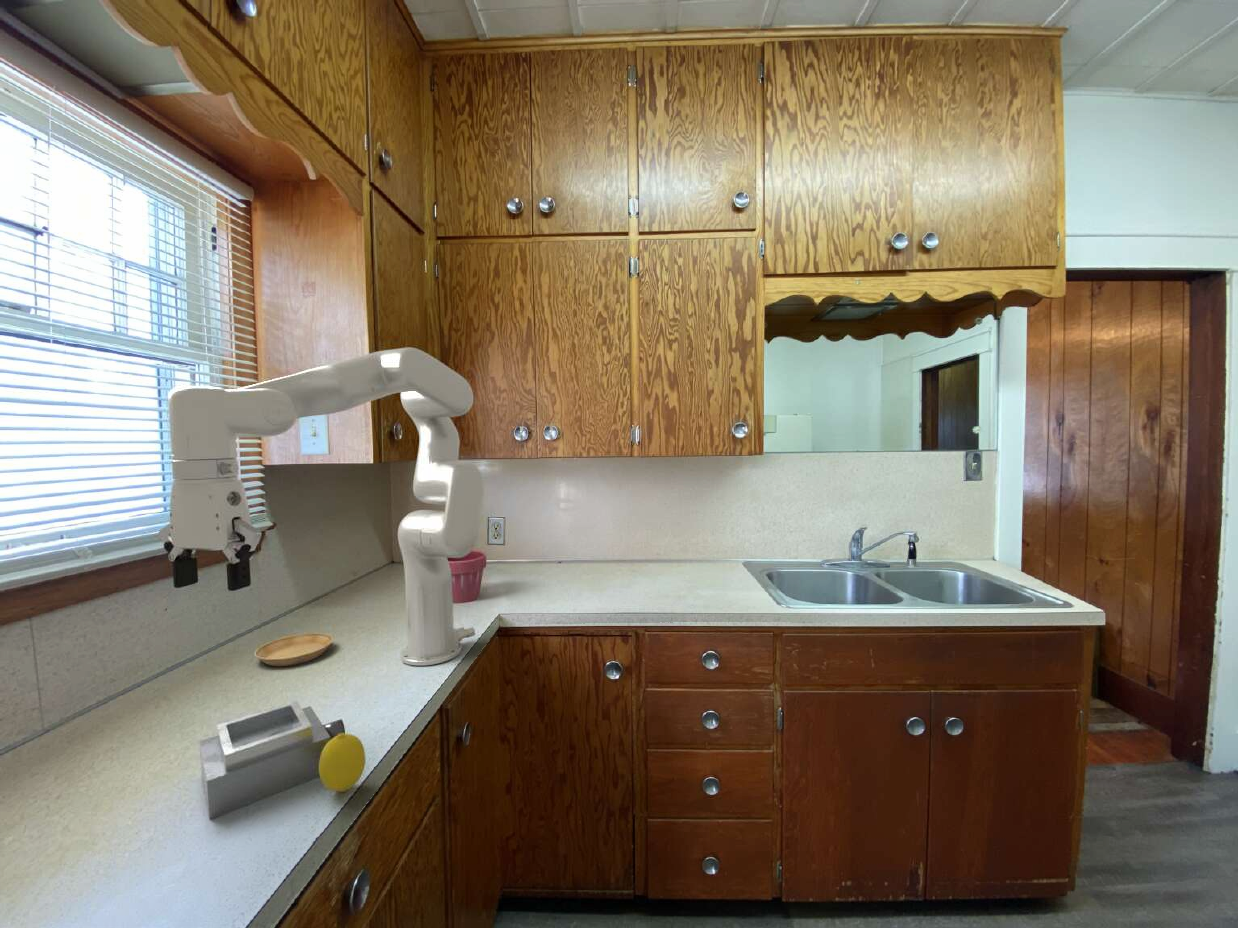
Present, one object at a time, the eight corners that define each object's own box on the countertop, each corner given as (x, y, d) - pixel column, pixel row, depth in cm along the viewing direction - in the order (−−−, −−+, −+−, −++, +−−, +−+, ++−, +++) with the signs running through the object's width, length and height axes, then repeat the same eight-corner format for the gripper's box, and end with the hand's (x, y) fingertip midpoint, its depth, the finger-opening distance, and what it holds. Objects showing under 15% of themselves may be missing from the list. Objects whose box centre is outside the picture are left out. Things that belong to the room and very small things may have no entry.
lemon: (348, 807, 69) (345, 747, 68) (310, 803, 70) (307, 743, 69) (375, 779, 74) (372, 724, 74) (339, 776, 75) (336, 721, 75)
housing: (332, 729, 87) (330, 687, 87) (354, 761, 78) (352, 715, 78) (201, 775, 76) (198, 727, 76) (209, 819, 67) (205, 765, 67)
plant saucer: (265, 649, 122) (264, 638, 122) (337, 639, 127) (337, 628, 127) (246, 676, 108) (245, 664, 108) (328, 663, 114) (327, 651, 113)
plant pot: (485, 604, 151) (483, 559, 150) (433, 607, 148) (431, 562, 148) (489, 589, 165) (488, 548, 164) (442, 592, 163) (440, 551, 162)
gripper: (276, 469, 80) (282, 582, 81) (184, 470, 84) (191, 578, 85) (230, 473, 73) (237, 597, 74) (131, 473, 76) (139, 591, 77)
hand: (212, 586), depth 79 cm, fingers open, 9 cm apart
